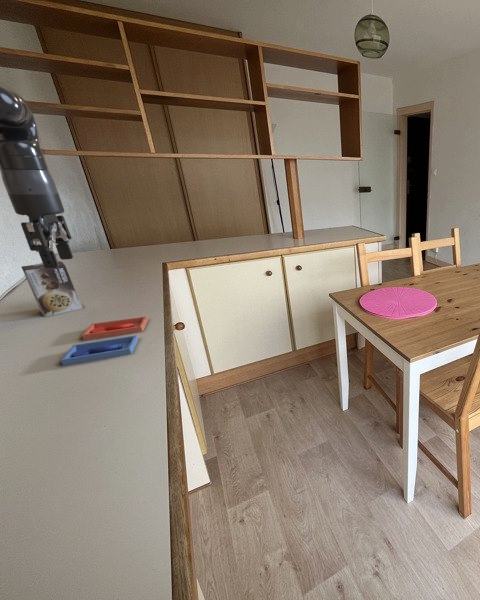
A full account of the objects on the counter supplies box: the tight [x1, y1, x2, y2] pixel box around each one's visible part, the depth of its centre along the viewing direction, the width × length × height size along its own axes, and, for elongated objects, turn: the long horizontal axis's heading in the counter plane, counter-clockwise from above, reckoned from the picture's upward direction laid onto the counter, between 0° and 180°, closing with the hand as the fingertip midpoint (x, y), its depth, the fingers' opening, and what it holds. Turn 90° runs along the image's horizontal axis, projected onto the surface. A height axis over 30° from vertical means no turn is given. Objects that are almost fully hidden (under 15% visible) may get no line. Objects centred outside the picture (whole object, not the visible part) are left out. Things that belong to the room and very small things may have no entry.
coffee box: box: [21, 260, 83, 317], centre depth 102 cm, size 9×6×16 cm
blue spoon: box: [72, 344, 122, 357], centre depth 81 cm, size 10×3×1 cm, turn 118°
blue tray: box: [60, 334, 139, 367], centre depth 82 cm, size 13×8×2 cm, turn 118°
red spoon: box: [91, 323, 134, 333], centre depth 93 cm, size 10×3×1 cm, turn 118°
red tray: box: [81, 316, 149, 341], centre depth 93 cm, size 13×8×2 cm, turn 118°
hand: (60, 263), depth 75 cm, fingers open, 8 cm apart
